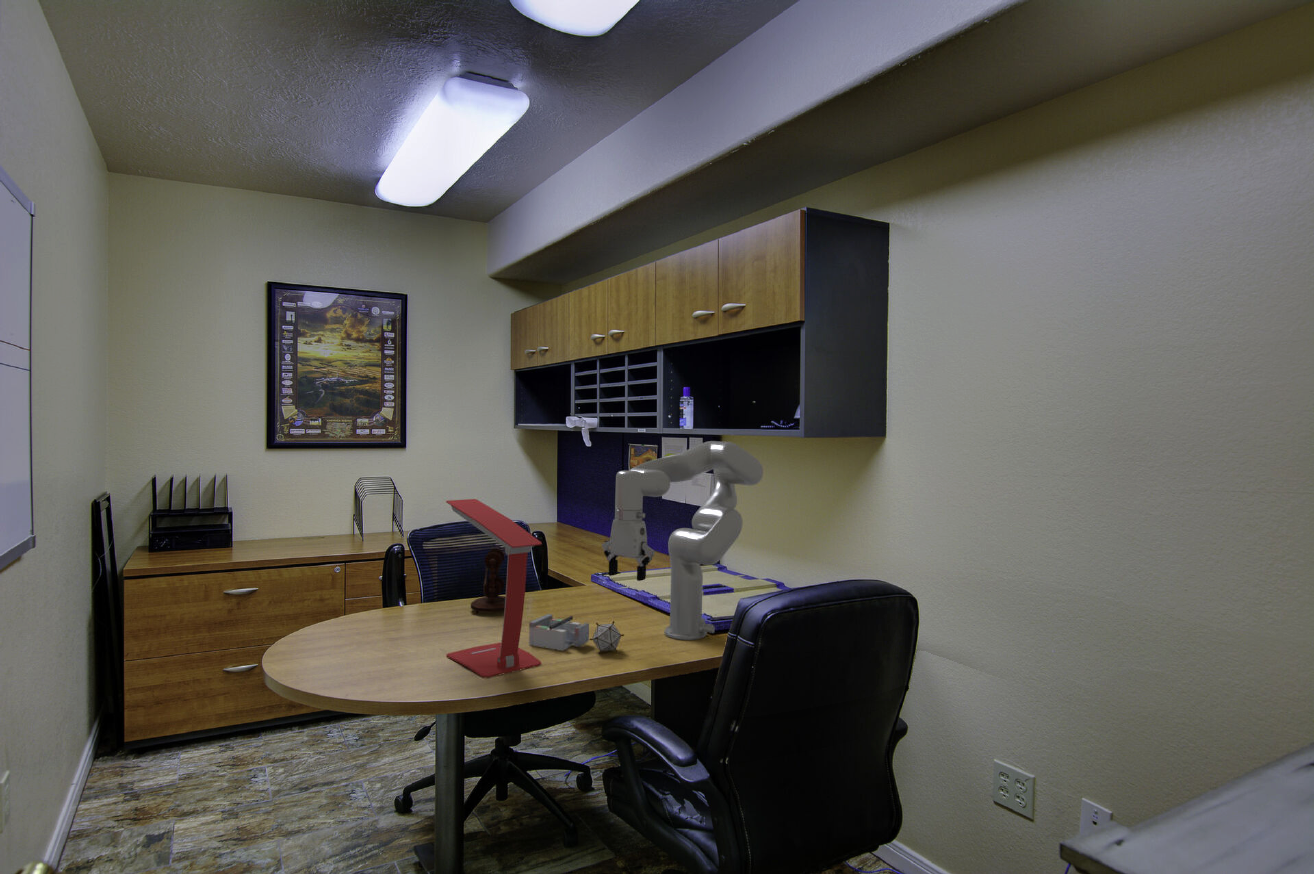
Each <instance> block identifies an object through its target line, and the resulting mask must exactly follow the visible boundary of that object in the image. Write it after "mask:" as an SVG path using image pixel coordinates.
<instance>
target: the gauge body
mask: <svg viewBox="0 0 1314 874" xmlns="http://www.w3.org/2000/svg"><path fill="white" fill-rule="evenodd" d="M553 616H554V615H553V614H550V613H547V614H545V615H543V616H540V617H538V618H536V619H533V620H530V621H529V622H528V623H529V628H528V630H529V632H528V633H529V634H528V645H529V646H534V647H539V648H544V647H546V648H545V649H550V650H555V649H557V651H561V650H562V651H565V650H567V649H569V648H571V647H573V646H574V645H575V642H571V641H566V630H560V629H559V626H558V627H556V628H554V629H552V630H549V626H551V625H553V624H555V623H557V622H559V621H562V620H563V619H560V618H554V617H553ZM580 625H582V624H581V622H576V621H571V620H570V621H568V622H566V623H564V624H563V629H568V630H574V631H575V628H576V627H578V626H580ZM573 644H574V645H573ZM570 646H571V647H570ZM568 647H569V648H568ZM564 649H565V650H564Z"/></svg>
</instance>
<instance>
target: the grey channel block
mask: <svg viewBox="0 0 1314 874" xmlns="http://www.w3.org/2000/svg"><path fill="white" fill-rule="evenodd" d="M573 618H574V616H573V615H570V616H569V617H568V616H567V617H566V618H563V619H562V621H559V622H557V623H555V624H553V625H551V626H549V630H552V629H554V628H556V627H558V626H559V629H560V630H566V641H571V642H575V644H574V647H577V648H578V647H580V646H582V645H585V644H586V643H588V642H589V641H590V623H588V622H584V623H582V624H581V625H580V626H578V627H576V628H575V631H574V630H568V629H563V624H564V623H566V622H568V621H570V622H571V621H572V620H574V619H573Z"/></svg>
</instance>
